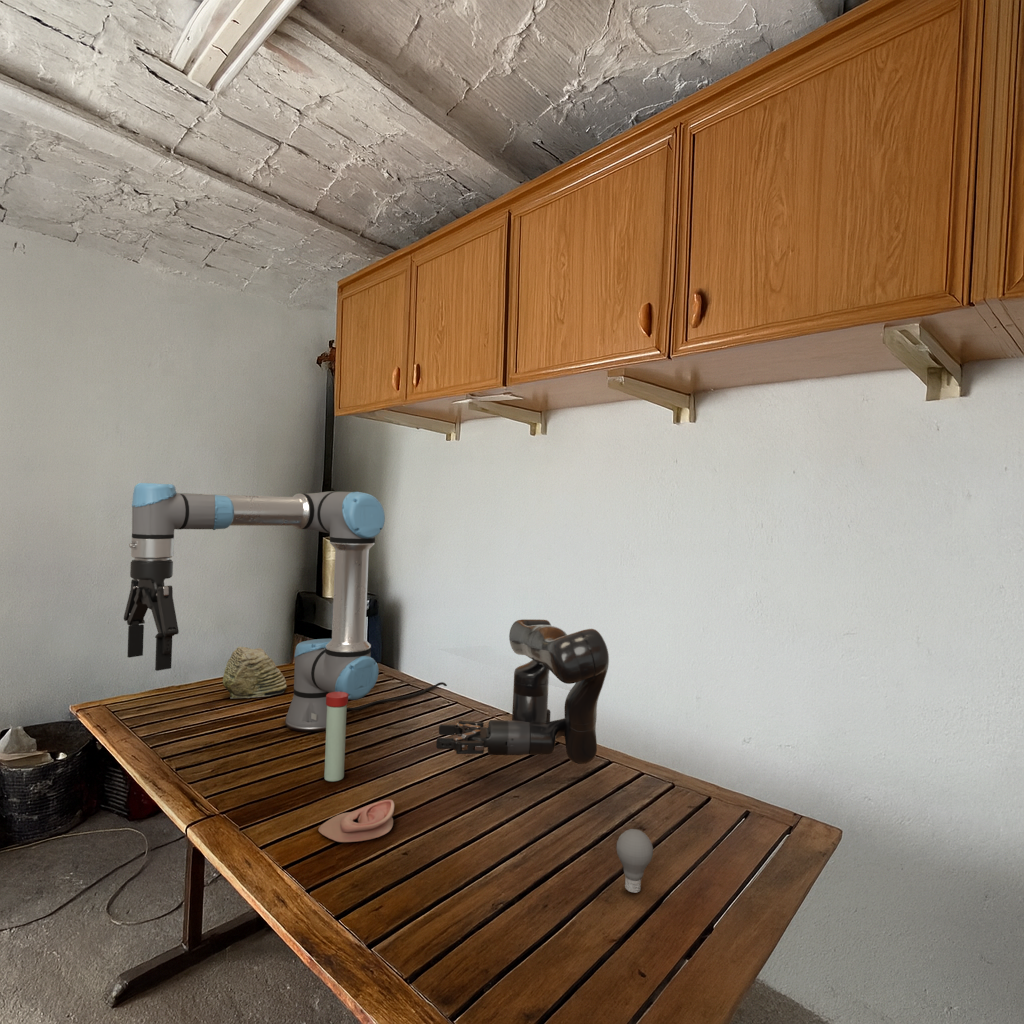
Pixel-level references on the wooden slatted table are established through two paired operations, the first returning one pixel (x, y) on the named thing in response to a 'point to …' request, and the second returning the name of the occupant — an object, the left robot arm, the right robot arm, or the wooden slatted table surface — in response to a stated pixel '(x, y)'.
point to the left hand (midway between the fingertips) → (148, 662)
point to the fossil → (252, 674)
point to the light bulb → (634, 857)
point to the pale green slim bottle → (335, 743)
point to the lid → (337, 699)
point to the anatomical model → (360, 823)
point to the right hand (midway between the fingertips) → (437, 736)
